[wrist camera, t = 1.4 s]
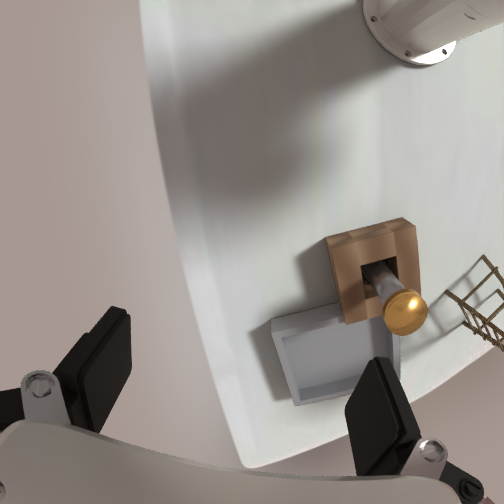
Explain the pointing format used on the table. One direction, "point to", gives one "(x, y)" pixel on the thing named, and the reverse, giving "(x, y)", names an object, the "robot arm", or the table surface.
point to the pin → (396, 300)
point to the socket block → (367, 251)
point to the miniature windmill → (475, 313)
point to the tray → (329, 351)
